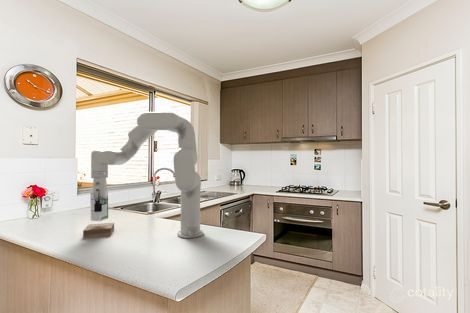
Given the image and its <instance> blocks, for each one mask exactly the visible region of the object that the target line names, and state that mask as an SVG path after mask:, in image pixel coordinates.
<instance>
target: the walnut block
mask: <svg viewBox="0 0 470 313" xmlns="http://www.w3.org/2000/svg"><path fill="white" fill-rule="evenodd" d="M114 230H115V222H105V223H103V222H102V223H92V224H87V225H86V227H85V228H84V229H83V230H82V232H83V233H82V237H83V238H82V239H88V238H89V239H90V238H100V237H101V238H102V237H111V236H112V235H113V232H114Z"/></svg>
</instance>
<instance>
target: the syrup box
mask: <svg viewBox="0 0 470 313" xmlns="http://www.w3.org/2000/svg"><path fill="white" fill-rule="evenodd" d="M89 195H90V196H89V197H90V221H91V222H102V221H105V220H107V219H109V191H108V189H107V190H106V197H104V198H103V197H102V199H101V203H102V211H101V212H94V204H95V198H94V197H93V191H90V194H89ZM100 196H101V195H100V192H99V197H100Z"/></svg>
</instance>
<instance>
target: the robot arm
mask: <svg viewBox="0 0 470 313" xmlns="http://www.w3.org/2000/svg"><path fill="white" fill-rule="evenodd" d="M158 131H169V132H173V133H176V134H177V136H178V137H177V138H178V139H177V142H178V149H177V150H176V151H175V152H174V155H173V171H174V180H175V185H176V188H177V189H178V190H180V230H179V231H177V233H176V235H177V236H178V238H183V239H194V238H195V239H196V238H199V237H202V236H203V235H204V231H203V230H202V229H201V188H202V187H201V186H202V179H201V175H200V174H199V173H198V172H197V171H196V170H195V169H196V168H195V167H196V164H197V162H198V151H197V142H196V134H195V129H194V127H193V125H192V123H191V122H190V121H189V120H188V119H186V118H184V117H182V116H180V115H178V114H176V113H174V112H171V111H169V112H168V111H145V112H141V113H140V114H139V115H138V116H137V119H136V125H135V126H134V127H133V128H132V129H131V130H130V131H129V132H128V133H127V136H128V140H127V142H126V143H125V144H124V146H122V147H121V148H120V149H109V150H108V149H107V150H93V151H91V154H90V162H91V163H90V167H91V168H90V178H91V179H93V182H92V183H93V185H92V188H93V189H92V192H93V197H94V198H95V204H94V212H101V211H102V203H101V199H102V197H103V198H104V197H106V190H107V191H108V188H107V179H108V178H109V166H120V165H124V164H126V163H127V162H129V161H130V160H131V159H132V158H133V157H134V156H135V155H136V154H137V153H138V152H139V150H140V149H141V147H142V145H143V144H144V143H145V142H147V140H148V139H149V138H151V137H152V136H153V135H154V134H155V133H156V132H158ZM99 192H100V195H101V196H100V197H99Z"/></svg>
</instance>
